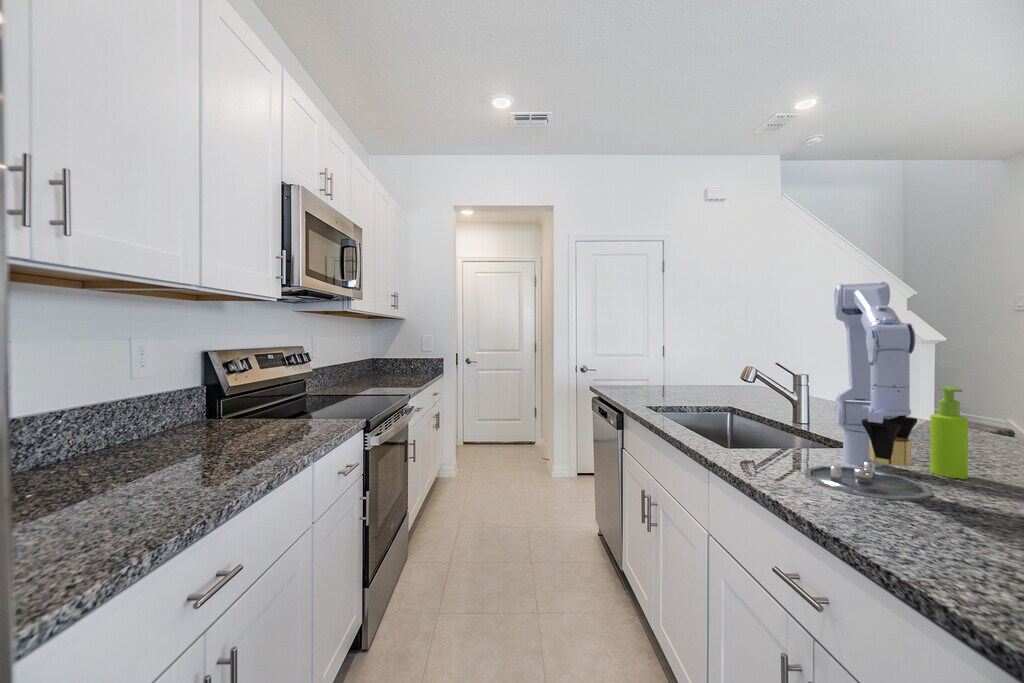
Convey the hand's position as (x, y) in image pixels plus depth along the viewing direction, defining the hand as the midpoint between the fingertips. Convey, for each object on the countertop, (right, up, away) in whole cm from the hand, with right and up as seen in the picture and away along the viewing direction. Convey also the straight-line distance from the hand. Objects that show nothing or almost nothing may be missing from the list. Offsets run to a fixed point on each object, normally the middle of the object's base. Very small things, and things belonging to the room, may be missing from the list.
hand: (889, 455), depth 84 cm
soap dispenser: (+24, -8, +12) cm, 29 cm away
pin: (-6, -8, +6) cm, 11 cm away
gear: (0, -1, 0) cm, 1 cm away
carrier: (-1, -8, +5) cm, 9 cm away
